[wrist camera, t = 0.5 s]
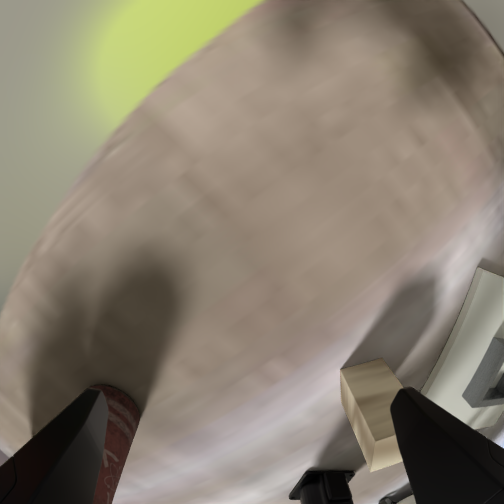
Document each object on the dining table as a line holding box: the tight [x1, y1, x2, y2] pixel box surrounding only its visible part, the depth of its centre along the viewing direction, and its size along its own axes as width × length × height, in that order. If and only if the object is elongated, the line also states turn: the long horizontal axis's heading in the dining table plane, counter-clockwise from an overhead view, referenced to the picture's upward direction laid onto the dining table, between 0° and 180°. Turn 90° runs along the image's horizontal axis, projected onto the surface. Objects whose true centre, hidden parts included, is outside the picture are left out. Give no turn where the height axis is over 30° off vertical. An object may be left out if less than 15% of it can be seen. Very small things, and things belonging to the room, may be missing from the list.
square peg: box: [340, 358, 403, 472], centre depth 21 cm, size 4×4×9 cm
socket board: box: [420, 267, 504, 430], centre depth 26 cm, size 20×20×1 cm
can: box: [87, 385, 140, 504], centre depth 18 cm, size 6×6×14 cm
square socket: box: [462, 337, 504, 408], centre depth 24 cm, size 8×8×2 cm
